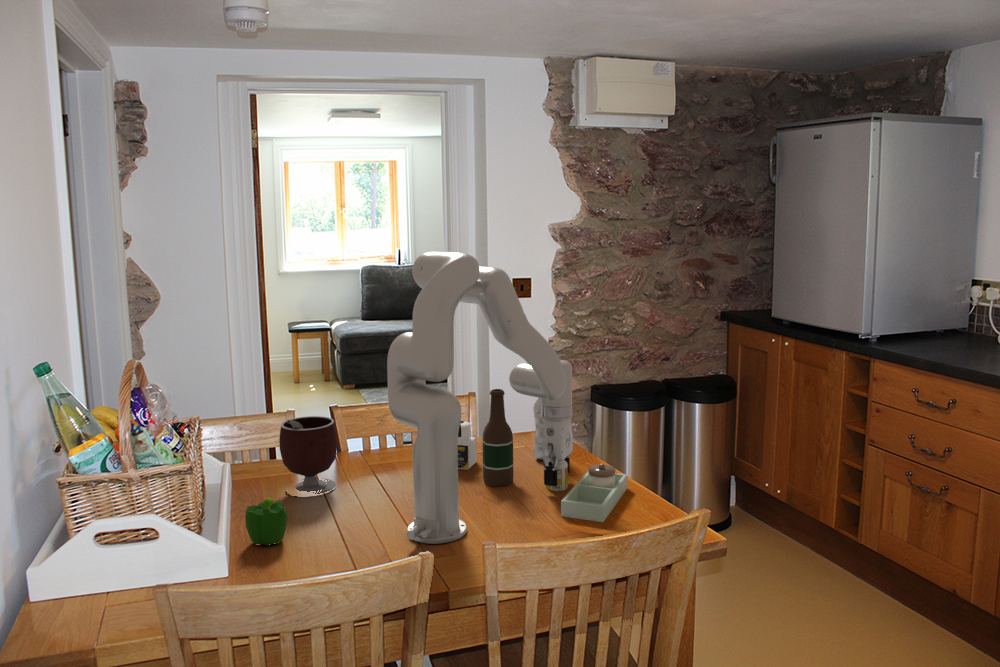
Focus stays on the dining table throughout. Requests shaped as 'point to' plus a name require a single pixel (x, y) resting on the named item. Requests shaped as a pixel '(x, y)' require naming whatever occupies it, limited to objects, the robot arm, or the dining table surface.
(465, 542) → the dining table surface
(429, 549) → the dining table surface
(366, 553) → the dining table surface
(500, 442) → the beer bottle
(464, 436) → the medicine bottle
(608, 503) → the caddy
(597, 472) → the jar
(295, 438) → the mate gourd
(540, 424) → the plastic bottle
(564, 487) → the supplement bottle
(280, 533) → the bell pepper
